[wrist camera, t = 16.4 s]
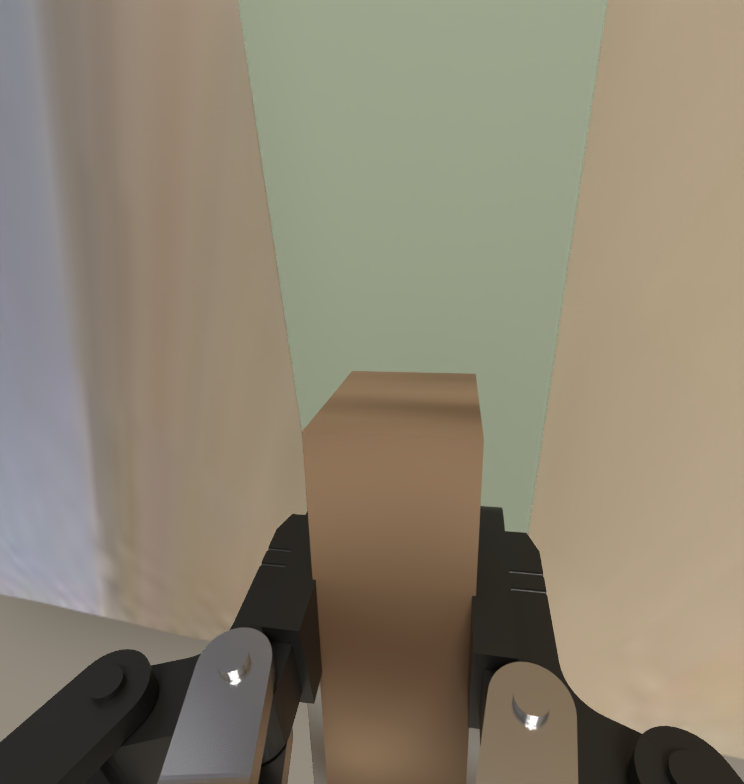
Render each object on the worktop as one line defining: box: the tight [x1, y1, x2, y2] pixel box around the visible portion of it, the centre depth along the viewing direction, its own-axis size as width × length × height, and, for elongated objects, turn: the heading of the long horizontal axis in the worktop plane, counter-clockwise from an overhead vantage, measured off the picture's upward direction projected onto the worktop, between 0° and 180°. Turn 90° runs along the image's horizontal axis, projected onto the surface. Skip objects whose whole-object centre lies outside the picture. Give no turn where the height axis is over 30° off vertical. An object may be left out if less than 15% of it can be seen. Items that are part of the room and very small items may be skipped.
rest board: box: [238, 0, 608, 535], centre depth 17 cm, size 9×23×1 cm, turn 3°
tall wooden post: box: [302, 371, 484, 784], centre depth 12 cm, size 15×6×4 cm, turn 3°
